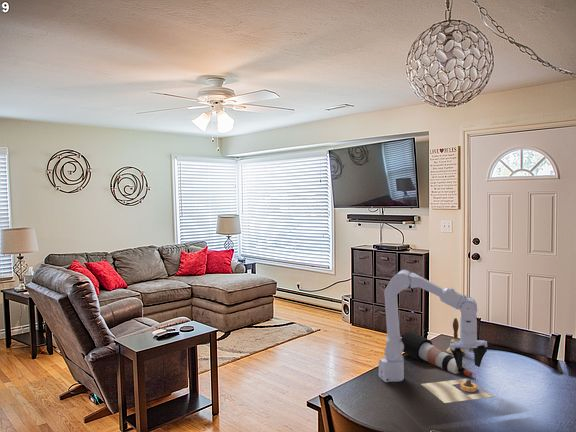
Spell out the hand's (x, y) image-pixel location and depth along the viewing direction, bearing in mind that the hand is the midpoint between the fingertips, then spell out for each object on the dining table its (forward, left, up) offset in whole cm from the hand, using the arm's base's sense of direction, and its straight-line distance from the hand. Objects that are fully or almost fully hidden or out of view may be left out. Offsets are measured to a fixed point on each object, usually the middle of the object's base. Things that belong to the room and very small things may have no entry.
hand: (468, 366), depth 162 cm
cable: (+2, +25, -10) cm, 27 cm away
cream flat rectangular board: (-5, 0, -9) cm, 11 cm away
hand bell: (+20, +38, -10) cm, 44 cm away
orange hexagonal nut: (0, 0, -9) cm, 9 cm away
